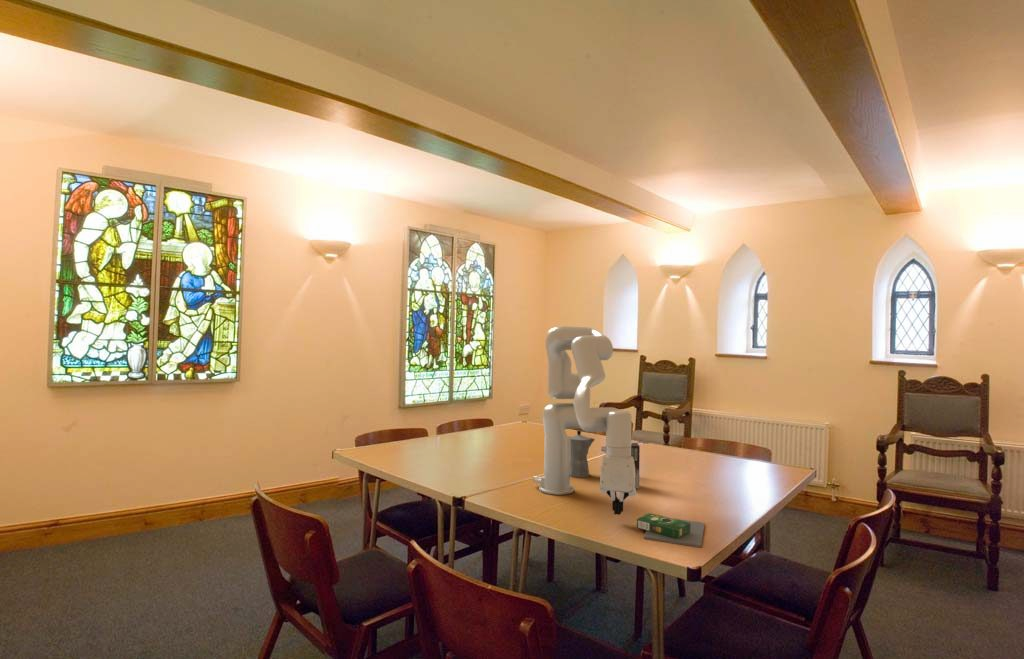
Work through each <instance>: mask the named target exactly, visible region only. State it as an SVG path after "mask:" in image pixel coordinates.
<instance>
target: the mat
mask: <svg viewBox="0 0 1024 659" xmlns="http://www.w3.org/2000/svg"><path fill="white" fill-rule="evenodd" d="M671 518H672V517H671ZM672 519H674V518H672ZM675 519H676V520H681V521H685V522H689V523H690V532H689V533H688V534H686V535H684V536H683V537H681V538H680V539H676V538H672V537H669V536H665V535H662V534H658V533H654V532H650V531H647V530H645V534H644V535H643V539H645V540H651V541H655V540H656V542H657V541H658V542H662V541H663V542H662V543H668V542H669V544H674V543H675V544H676V545H681V544H682V545H683V546H687V545H688V547H694V546H697V547H696V548H700V547H701V548H702V545H701V544H702V543H703V538H704V537H703V536H704V531H705V524H706V523H705V522H701V521H700V522H699V521H694V520H693V521H692V520H687V519H680V518H678V519H677V518H675ZM682 545H681V546H682Z"/></svg>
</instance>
